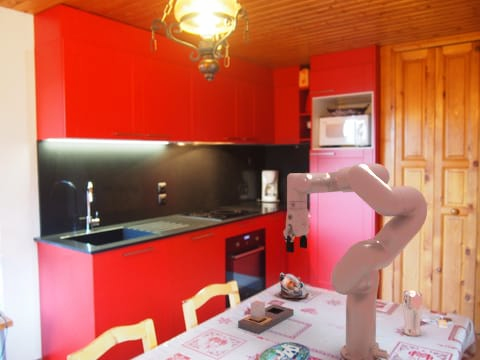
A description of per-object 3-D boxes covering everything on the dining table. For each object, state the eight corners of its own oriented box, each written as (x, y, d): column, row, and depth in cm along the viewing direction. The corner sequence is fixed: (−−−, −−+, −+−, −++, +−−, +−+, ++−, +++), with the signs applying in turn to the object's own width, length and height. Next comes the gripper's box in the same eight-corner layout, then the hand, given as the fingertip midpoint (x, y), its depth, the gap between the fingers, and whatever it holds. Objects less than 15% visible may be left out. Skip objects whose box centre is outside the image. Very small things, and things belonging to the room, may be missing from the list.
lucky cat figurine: (314, 297, 189) (310, 275, 182) (294, 311, 184) (289, 289, 178) (295, 281, 201) (290, 260, 194) (275, 293, 196) (270, 272, 190)
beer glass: (410, 337, 145) (411, 297, 144) (398, 330, 151) (398, 291, 151) (426, 335, 147) (427, 295, 146) (413, 328, 153) (414, 289, 153)
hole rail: (293, 316, 165) (293, 308, 165) (259, 335, 147) (259, 327, 147) (273, 311, 172) (273, 303, 172) (238, 328, 153) (238, 320, 153)
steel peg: (265, 325, 155) (265, 302, 155) (259, 328, 152) (259, 305, 151) (256, 322, 157) (256, 300, 157) (250, 326, 154) (250, 303, 154)
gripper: (293, 208, 143) (293, 255, 144) (316, 204, 156) (316, 247, 157) (276, 206, 148) (276, 252, 148) (300, 203, 161) (300, 245, 162)
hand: (296, 250), depth 153 cm, fingers open, 9 cm apart
